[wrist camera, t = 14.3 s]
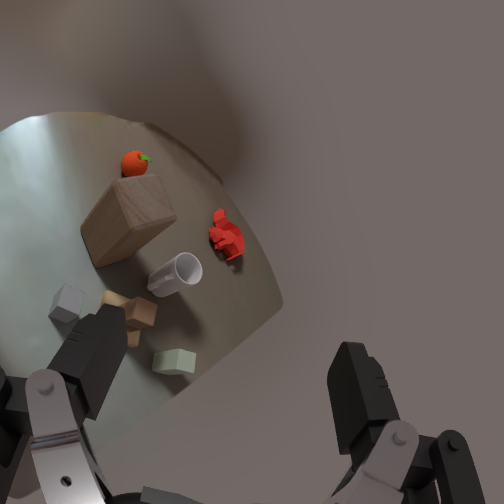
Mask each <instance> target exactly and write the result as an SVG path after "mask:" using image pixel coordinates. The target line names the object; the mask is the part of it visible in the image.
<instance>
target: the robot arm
mask: <svg viewBox="0 0 504 504" xmlns="http://www.w3.org/2000/svg"><path fill="white" fill-rule="evenodd" d="M127 344H128V336H127V327H126V316H125V309H124V308H123V307H119V306H115V305H111V304H107V303H104V304H103V305H102V306H101V308H100V309H99V310H98V312H97V313H96V315H94V314H88V315H87V316H85V317H84V318H82V319H81V320H79V321H78V323H77V324H76V325H75V327H74V328H73V330H72V332H71V333H70V334H69V336H68V337H67V340H65V341H64V343H63V344H62V346H61V347H60V349H59V350H58V352H57V353H56V355H55V356H54V358H53V359H52V361H51V362H50V364H49V366H48V367H47V368H46V369H41V370H38V371H36V372H34V373H32V374H31V375H30V376H29V377H28V378H19V377H11V376H6V374H5V372H4V370H3V369H2V368H1V367H0V504H5V503H6V500H7V497H8V494H9V491H10V488H11V485H12V482H13V479H14V476H15V473H16V470H17V468H18V465H19V462H20V459H21V457H22V454H23V452H24V449H25V447H26V444H27V442H28V439H29V437H30V436H34V442H33V443H31V452H32V457H33V461H34V464H35V468H36V472H37V475H38V479H39V482H40V485H41V488H42V491H43V494H44V497H45V500H46V503H47V504H203V503H200V502H197V501H195V500H192V499H190V498H187V497H185V496H182V495H180V494H176V493H171V492H166V491H162V490H157V489H153V488H149V487H145V486H144V487H143V490H142V493H138V492H137V493H125V494H120V495H116V496H114V495H113V492H112V490H111V488H110V487H109V484H108V482H107V481H106V479H105V477H104V475H103V473H102V471H101V469H100V466H99V464H98V462H97V459H96V457H95V454H94V452H93V449H92V446H91V444H90V441H89V438H88V436H87V433H86V430H85V427H84V425H83V422H84V420H85V418H89V419H92V420H95V421H96V418H97V416H98V413H99V411H100V409H101V406H102V404H103V402H104V399H105V397H106V395H107V393H108V390H109V388H110V386H111V384H112V381H113V379H114V377H115V375H116V372H117V370H118V368H119V366H120V364H121V362H122V360H123V357H124V355H125V353H126V350H127ZM327 385H328V391H329V396H330V401H331V407H332V412H333V418H334V423H335V429H336V435H337V441H338V447H339V452H340V455H346V454H351V460H352V462H351V464H350V465H349V467H348V468H347V470H346V471H345V473H344V475H343V476H342V477H341V479H340V480H339V482H338V483H337V485H336V486H335V488H334V489H333V490H332V492H331V493H330V495H329V496H328V497H327V499H326V500H325V501H324V502H323V503H322V504H439V500H438V496H437V490H436V486H435V482H434V481H435V480H436V479H437V483H438V487H439V492H440V496H441V504H485V500H484V496H483V492H482V489H481V485H480V482H479V478H478V475H477V472H476V469H475V466H474V462H473V459H472V456H471V453H470V450H469V447H468V444H467V442H466V440H465V438H464V437H463V436H462V435H461V434H460V433H459V432H457V431H454V430H446V431H444V432H442V433H441V435H439V437H437V438H434V437H428V436H423V435H418V433H417V431H416V430H415V428H414V427H413V426H412V425H411V424H409V423H407V422H405V421H401V420H400V417H399V414H398V412H397V409H396V406H395V403H394V400H393V397H392V394H391V391H390V389H389V388H388V383H387V380H385V375H384V373H383V370H382V367H381V366H380V364H379V363H378V362H377V361H376V360H375V359H374V357H368V354H367V351H366V349H365V346H364V344H363V343H356V342H343V343H342V344H341V345H340V347H339V349H338V352H337V354H336V356H335V358H334V360H333V362H332V364H331V366H330V368H329V371H328V376H327Z"/></svg>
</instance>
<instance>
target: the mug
mask: <svg viewBox="0 0 504 504" xmlns="http://www.w3.org/2000/svg"><path fill="white" fill-rule="evenodd" d="M201 277H202V267H201V264H200V262H199V261H198V259H197V258H196V257H195V256H194V255H192V254H190V253H181V254H179V255H178V256H176V257H175V258H173V259H172V260H170V261H169V262H167V263H166V264H164V265H163V266H161V267H160V268H158V269H157V270H155V271H154V272H153V273H151V274H150V276H149V278H148V285H147V289H148V290H149V291H151V292H152V293H153V294H154V295H155V296H157V297H166V296H168V295H171V294H173V293H176V292H178V291H180V290H183V289H185V288H188V287H190V286H192V285H194V284H196V283H198V282H199V281H200V279H201Z"/></svg>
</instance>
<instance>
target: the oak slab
mask: <svg viewBox="0 0 504 504" xmlns="http://www.w3.org/2000/svg"><path fill="white" fill-rule="evenodd" d="M130 300H131V299H128V298H126V297H124V296H121V295H119V294H117V293H114V292H112V291H110V290H106V291H105V292H103V295H102V299H101V303H100V307H99V309H100V308H101V306H102V305H103V304H104V303H107V304H111V305H115V306H120V305H122V304H124V303H126V302H128V301H130ZM140 331H141V330H137V331H133V332H128V331H127V336H128V344H127V346H129V347H132V348H133V347H138V343H139V337H140Z"/></svg>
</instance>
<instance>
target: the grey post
mask: <svg viewBox="0 0 504 504" xmlns="http://www.w3.org/2000/svg"><path fill="white" fill-rule="evenodd" d="M84 295H85V292H83V291H81V290H78V289H76V288H74V287H72V286H70V285H68V284H65V283H64V284H63V285H62V287H61V288H60V289H59V291H58V292H57V293H56V295H55V296H54V298H53V301H52V305H51V308H50V312H49V315H48V316H49V317H52V318H54V319H56V320H59V321H61V322H63V323H66V324H67V323H69V322H70V321H71V320H73V319H74V318H75V317H77V316H78V315H79V313H80V310H81V306H82V302H83V299H84Z"/></svg>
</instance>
